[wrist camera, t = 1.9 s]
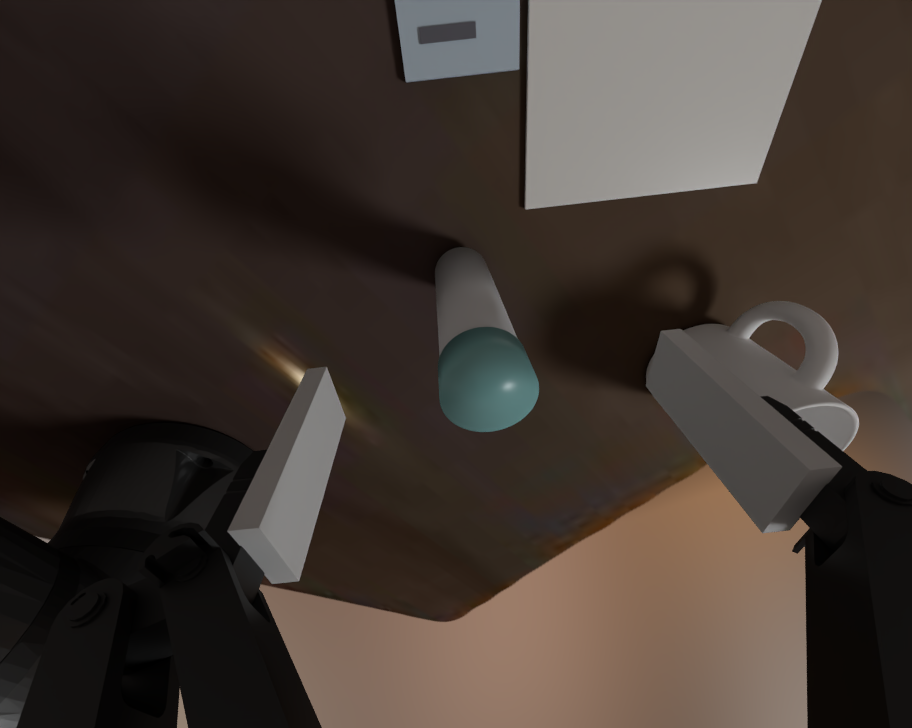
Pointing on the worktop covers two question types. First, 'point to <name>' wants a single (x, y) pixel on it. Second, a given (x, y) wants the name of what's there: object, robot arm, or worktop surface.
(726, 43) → the paper
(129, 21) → the worktop surface
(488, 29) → the word card
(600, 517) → the worktop surface
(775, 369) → the mug
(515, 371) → the marker
